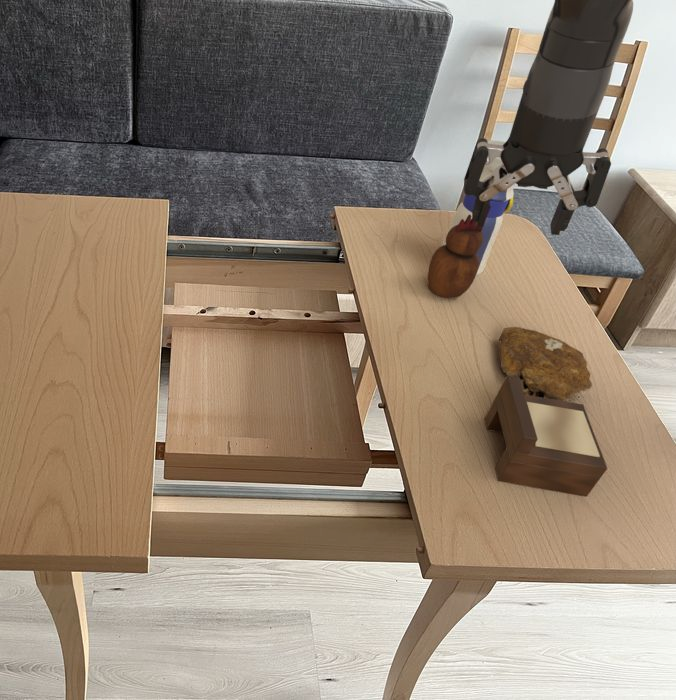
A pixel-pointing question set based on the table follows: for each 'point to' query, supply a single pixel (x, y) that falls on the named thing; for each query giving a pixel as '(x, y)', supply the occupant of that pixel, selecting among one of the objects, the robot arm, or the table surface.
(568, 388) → the decorative rock
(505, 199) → the water bottle
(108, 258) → the table surface
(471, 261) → the wooden figurine
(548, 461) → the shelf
